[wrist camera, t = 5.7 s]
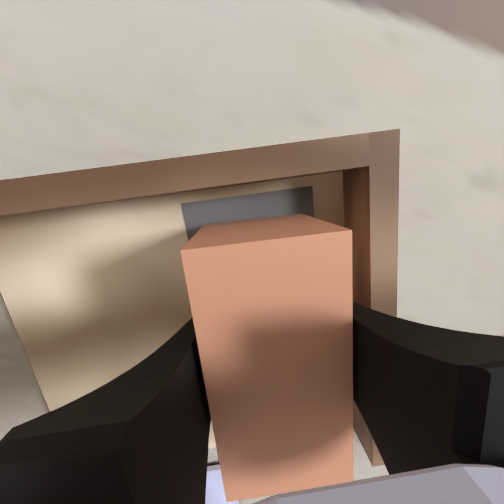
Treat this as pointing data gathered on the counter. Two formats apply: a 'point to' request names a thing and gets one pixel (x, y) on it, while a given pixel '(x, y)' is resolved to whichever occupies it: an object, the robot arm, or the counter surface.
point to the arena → (175, 247)
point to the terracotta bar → (275, 350)
